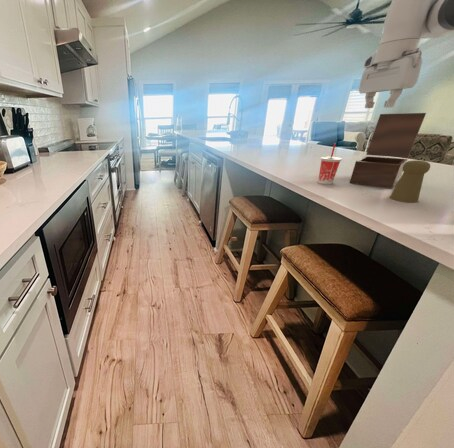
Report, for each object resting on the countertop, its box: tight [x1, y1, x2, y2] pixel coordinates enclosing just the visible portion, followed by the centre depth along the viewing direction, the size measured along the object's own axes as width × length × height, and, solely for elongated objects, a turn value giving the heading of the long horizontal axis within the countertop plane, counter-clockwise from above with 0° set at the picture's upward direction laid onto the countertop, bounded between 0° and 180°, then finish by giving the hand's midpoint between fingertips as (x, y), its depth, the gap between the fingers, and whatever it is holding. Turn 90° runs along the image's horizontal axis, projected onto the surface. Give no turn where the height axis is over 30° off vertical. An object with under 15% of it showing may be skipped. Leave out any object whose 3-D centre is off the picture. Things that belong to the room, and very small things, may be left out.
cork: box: [389, 160, 431, 204], centre depth 68 cm, size 6×6×11 cm
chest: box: [349, 155, 408, 190], centre depth 86 cm, size 14×12×8 cm
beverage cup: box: [317, 142, 343, 185], centre depth 87 cm, size 6×6×14 cm
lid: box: [365, 112, 427, 159], centre depth 86 cm, size 14×12×1 cm
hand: (377, 107), depth 75 cm, fingers open, 8 cm apart
